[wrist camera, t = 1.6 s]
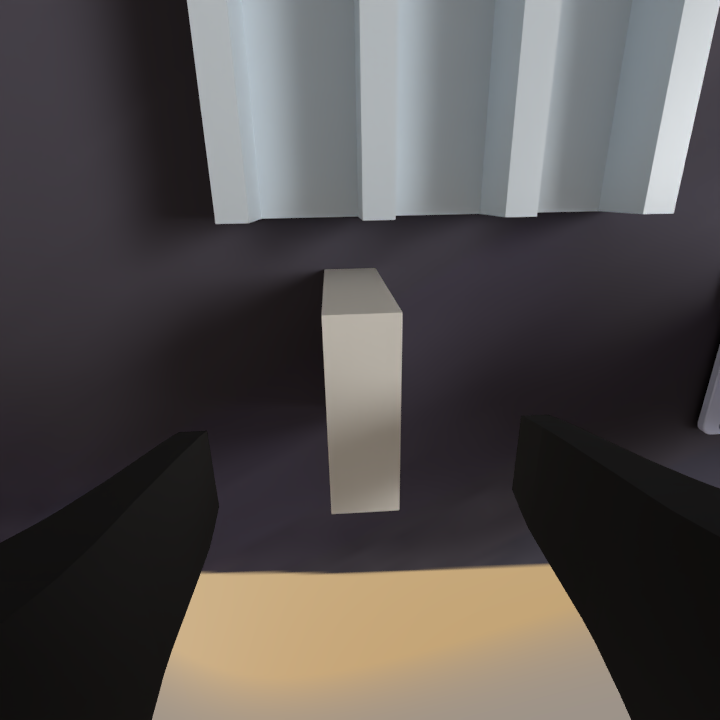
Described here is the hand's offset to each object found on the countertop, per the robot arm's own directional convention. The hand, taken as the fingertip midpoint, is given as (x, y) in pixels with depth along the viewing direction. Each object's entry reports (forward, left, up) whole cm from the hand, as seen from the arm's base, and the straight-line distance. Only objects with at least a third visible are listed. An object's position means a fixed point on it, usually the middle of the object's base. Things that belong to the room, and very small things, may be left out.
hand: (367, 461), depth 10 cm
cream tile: (0, 0, -9) cm, 9 cm away
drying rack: (-3, -10, -9) cm, 14 cm away
